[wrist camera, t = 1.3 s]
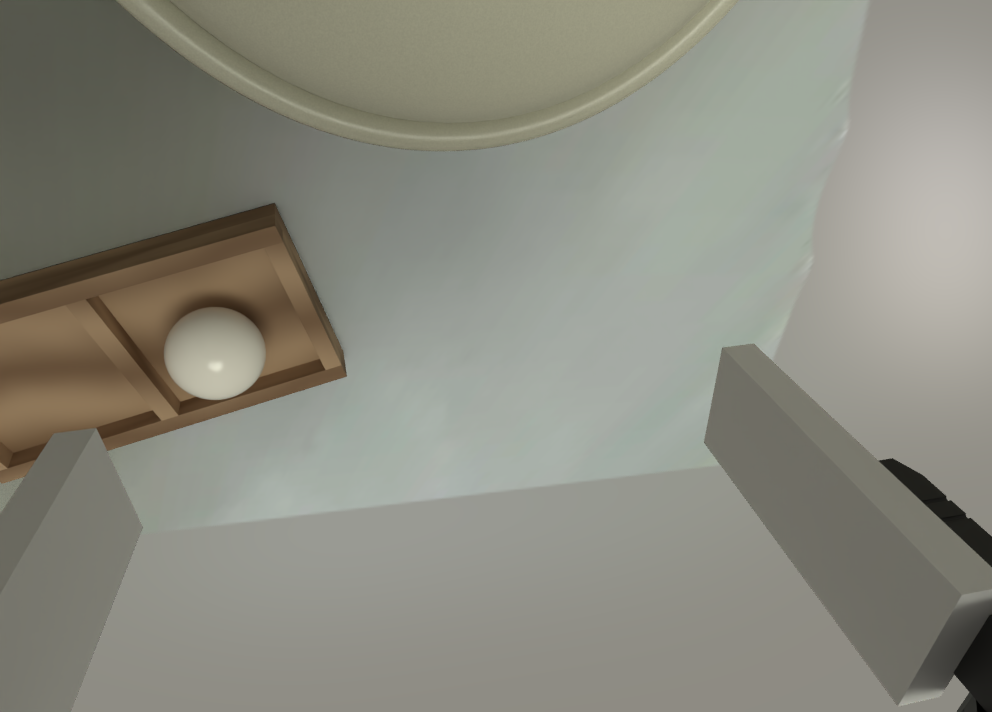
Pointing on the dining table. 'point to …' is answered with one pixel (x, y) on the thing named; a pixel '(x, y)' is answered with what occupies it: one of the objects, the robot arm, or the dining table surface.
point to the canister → (433, 60)
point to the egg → (214, 353)
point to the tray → (151, 334)
